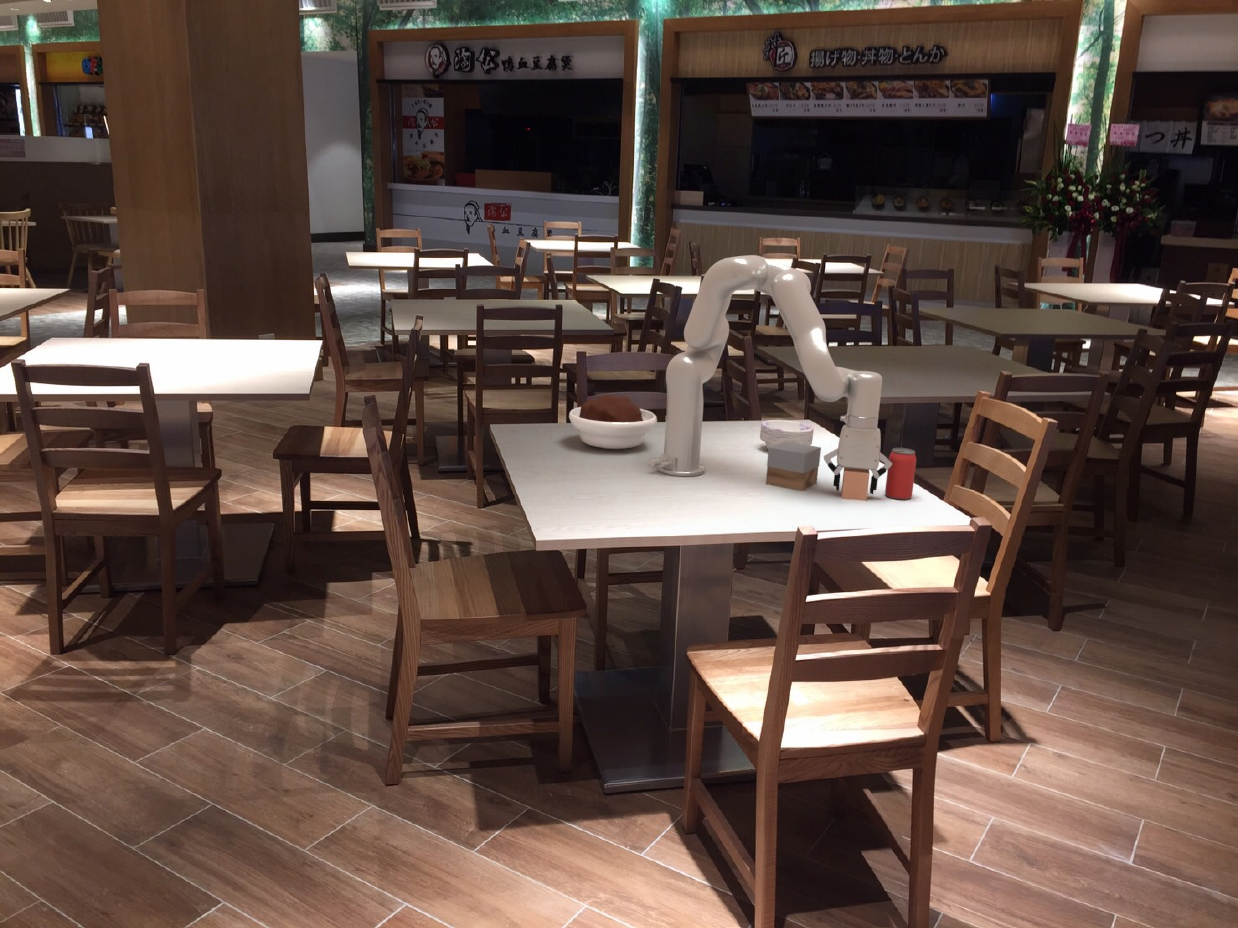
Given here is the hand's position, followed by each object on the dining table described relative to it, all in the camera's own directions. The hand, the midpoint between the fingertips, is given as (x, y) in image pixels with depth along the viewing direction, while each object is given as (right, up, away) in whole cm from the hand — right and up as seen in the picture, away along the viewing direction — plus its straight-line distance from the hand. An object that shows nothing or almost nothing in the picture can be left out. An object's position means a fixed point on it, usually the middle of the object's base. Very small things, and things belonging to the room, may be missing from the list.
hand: (854, 490), depth 256 cm
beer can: (+11, -2, +2) cm, 12 cm away
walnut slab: (-14, +1, +9) cm, 17 cm away
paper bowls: (-10, +10, +45) cm, 47 cm away
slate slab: (-14, +6, +8) cm, 17 cm away
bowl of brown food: (-61, +12, +40) cm, 74 cm away
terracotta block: (0, -2, 0) cm, 2 cm away
